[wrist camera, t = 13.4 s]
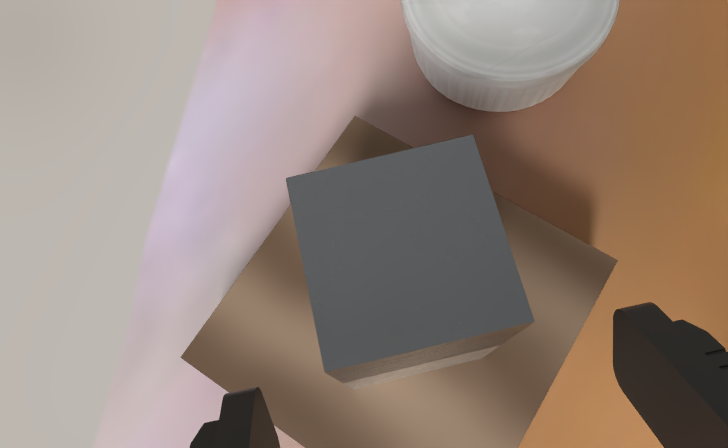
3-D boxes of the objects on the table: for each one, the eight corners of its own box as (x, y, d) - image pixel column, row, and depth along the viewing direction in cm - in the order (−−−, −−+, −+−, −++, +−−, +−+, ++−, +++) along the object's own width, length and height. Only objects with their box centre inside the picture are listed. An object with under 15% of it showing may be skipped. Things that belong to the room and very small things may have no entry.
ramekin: (523, -55, 36) (543, -130, 31) (628, 77, 33) (669, 16, 28) (367, 18, 35) (362, -48, 30) (459, 162, 32) (471, 115, 27)
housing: (326, 265, 26) (285, 178, 16) (446, 236, 26) (473, 134, 17) (353, 389, 24) (324, 372, 15) (481, 358, 24) (534, 321, 15)
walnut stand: (360, 151, 32) (355, 115, 28) (589, 280, 29) (617, 260, 25) (209, 365, 29) (180, 357, 25) (449, 537, 26) (458, 558, 22)
